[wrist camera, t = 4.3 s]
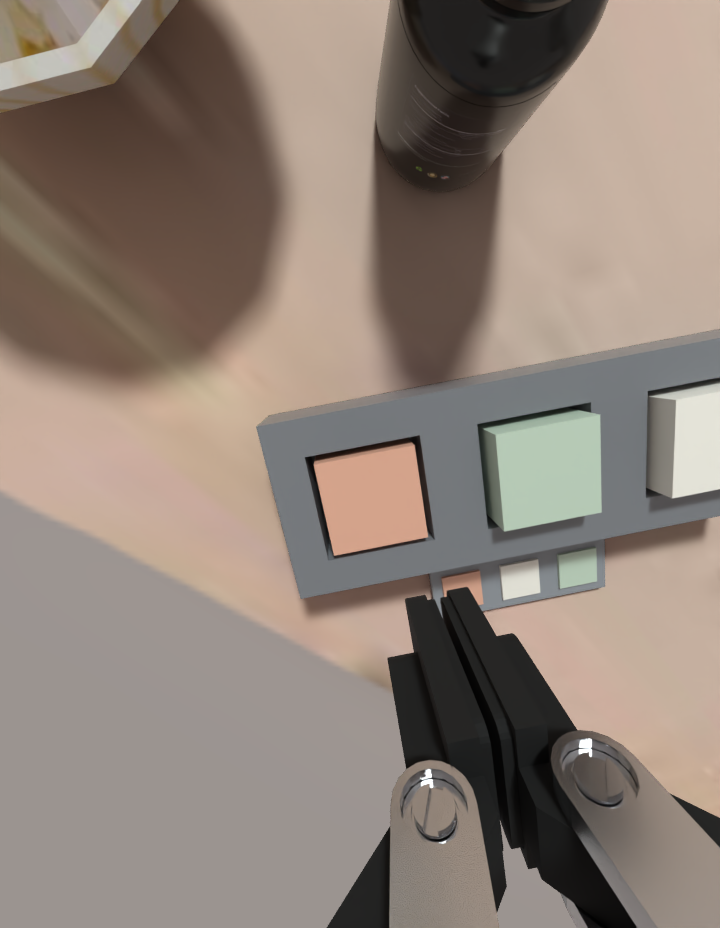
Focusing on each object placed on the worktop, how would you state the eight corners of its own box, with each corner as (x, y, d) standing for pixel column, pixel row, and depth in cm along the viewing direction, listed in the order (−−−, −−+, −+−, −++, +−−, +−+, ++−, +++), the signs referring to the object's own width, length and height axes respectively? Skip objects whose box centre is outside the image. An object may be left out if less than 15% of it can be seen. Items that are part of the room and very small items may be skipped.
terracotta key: (404, 434, 23) (414, 445, 20) (416, 515, 24) (428, 537, 21) (316, 451, 23) (313, 464, 20) (334, 532, 24) (334, 555, 21)
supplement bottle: (390, 16, 19) (483, -547, 7) (522, 61, 19) (800, -376, 8) (359, 177, 20) (392, -62, 9) (482, 213, 21) (662, 37, 10)
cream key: (721, 377, 22) (779, 379, 19) (714, 464, 23) (768, 479, 20) (630, 394, 22) (676, 400, 19) (630, 481, 23) (672, 498, 20)
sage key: (564, 407, 22) (600, 414, 19) (568, 493, 23) (601, 512, 20) (474, 424, 22) (495, 434, 19) (483, 509, 23) (504, 531, 20)
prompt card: (599, 532, 27) (606, 536, 26) (600, 582, 28) (606, 588, 27) (427, 566, 26) (430, 571, 26) (435, 615, 28) (437, 622, 27)
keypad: (725, 327, 24) (802, 321, 20) (714, 482, 26) (780, 503, 22) (269, 415, 23) (256, 426, 19) (305, 562, 26) (300, 598, 22)
